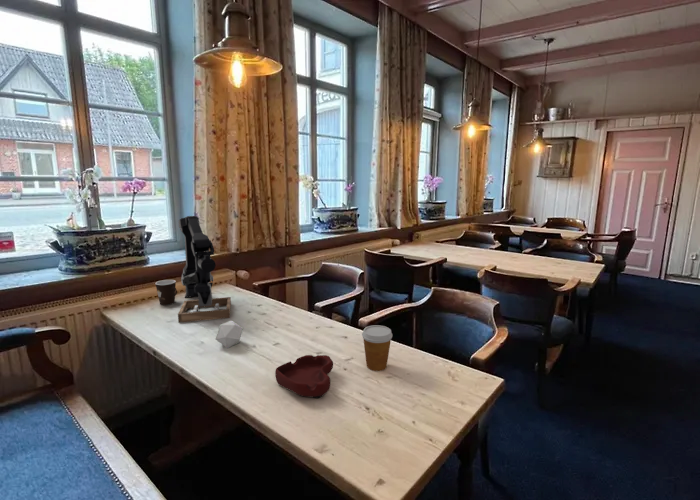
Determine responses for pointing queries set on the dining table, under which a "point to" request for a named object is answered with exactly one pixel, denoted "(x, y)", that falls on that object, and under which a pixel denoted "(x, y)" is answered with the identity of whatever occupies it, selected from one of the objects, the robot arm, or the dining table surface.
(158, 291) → the coffee mug
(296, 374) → the ashtray
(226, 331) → the die
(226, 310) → the wooden serving tray
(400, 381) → the dining table surface
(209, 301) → the grey block
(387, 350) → the disposable coffee cup
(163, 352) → the dining table surface
